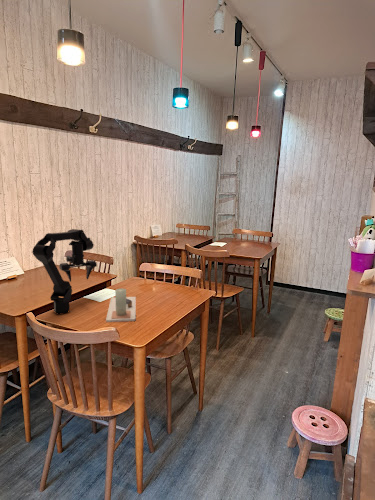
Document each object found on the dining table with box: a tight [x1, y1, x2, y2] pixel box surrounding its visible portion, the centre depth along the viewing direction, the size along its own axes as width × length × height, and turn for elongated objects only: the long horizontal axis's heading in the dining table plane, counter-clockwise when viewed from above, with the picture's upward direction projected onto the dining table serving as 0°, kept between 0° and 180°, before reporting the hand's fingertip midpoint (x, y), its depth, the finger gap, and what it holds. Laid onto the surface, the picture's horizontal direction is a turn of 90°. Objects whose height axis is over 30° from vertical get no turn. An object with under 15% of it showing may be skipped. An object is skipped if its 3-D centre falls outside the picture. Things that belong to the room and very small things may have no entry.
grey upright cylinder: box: [114, 287, 127, 316], centre depth 169 cm, size 5×5×12 cm
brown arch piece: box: [126, 299, 132, 308], centre depth 182 cm, size 8×11×4 cm
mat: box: [111, 311, 131, 319], centre depth 170 cm, size 9×9×1 cm
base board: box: [105, 296, 137, 323], centre depth 181 cm, size 34×14×1 cm, turn 8°
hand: (78, 280), depth 187 cm, fingers open, 9 cm apart
